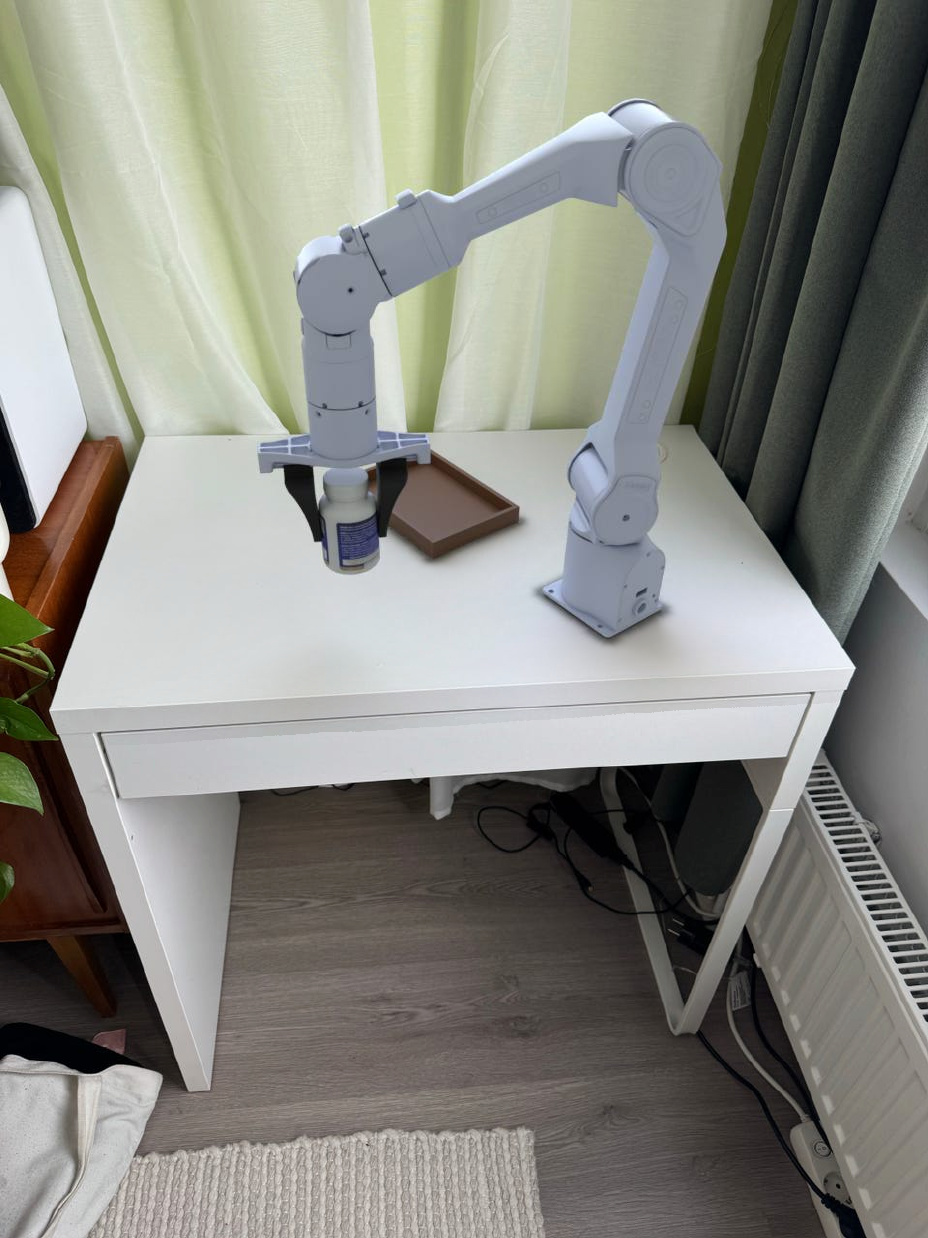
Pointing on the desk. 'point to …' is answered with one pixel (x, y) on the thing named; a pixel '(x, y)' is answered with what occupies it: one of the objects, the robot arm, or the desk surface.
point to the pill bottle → (348, 522)
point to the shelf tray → (445, 506)
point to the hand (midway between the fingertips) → (350, 533)
